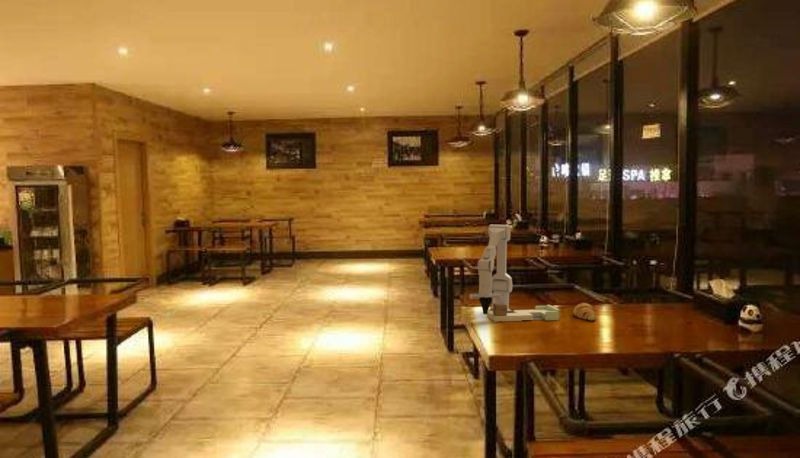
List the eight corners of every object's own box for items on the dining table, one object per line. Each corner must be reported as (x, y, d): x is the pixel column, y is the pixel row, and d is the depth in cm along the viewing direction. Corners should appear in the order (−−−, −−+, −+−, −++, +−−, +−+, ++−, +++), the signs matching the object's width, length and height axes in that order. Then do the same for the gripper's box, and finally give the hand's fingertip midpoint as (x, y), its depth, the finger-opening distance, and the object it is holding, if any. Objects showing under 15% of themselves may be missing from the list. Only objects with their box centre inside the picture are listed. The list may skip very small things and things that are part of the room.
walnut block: (493, 313, 277) (493, 303, 276) (503, 313, 277) (503, 303, 277) (496, 316, 272) (496, 305, 271) (506, 315, 272) (506, 305, 272)
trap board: (486, 315, 284) (486, 306, 284) (548, 313, 288) (548, 304, 288) (495, 322, 270) (495, 312, 270) (559, 320, 274) (560, 310, 274)
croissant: (598, 329, 271) (607, 314, 271) (580, 319, 270) (588, 304, 270) (581, 318, 292) (589, 304, 292) (564, 309, 291) (571, 295, 291)
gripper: (472, 286, 268) (472, 316, 268) (503, 285, 270) (503, 315, 270) (468, 284, 275) (468, 312, 275) (498, 283, 276) (498, 311, 277)
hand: (485, 313), depth 273 cm, fingers closed
